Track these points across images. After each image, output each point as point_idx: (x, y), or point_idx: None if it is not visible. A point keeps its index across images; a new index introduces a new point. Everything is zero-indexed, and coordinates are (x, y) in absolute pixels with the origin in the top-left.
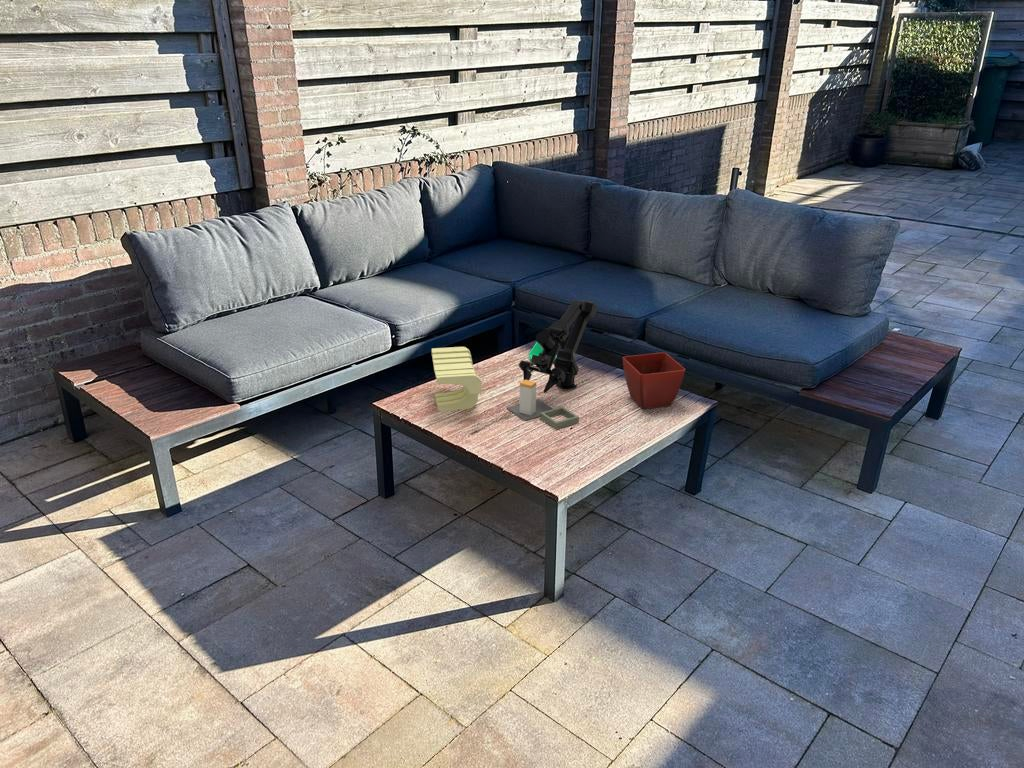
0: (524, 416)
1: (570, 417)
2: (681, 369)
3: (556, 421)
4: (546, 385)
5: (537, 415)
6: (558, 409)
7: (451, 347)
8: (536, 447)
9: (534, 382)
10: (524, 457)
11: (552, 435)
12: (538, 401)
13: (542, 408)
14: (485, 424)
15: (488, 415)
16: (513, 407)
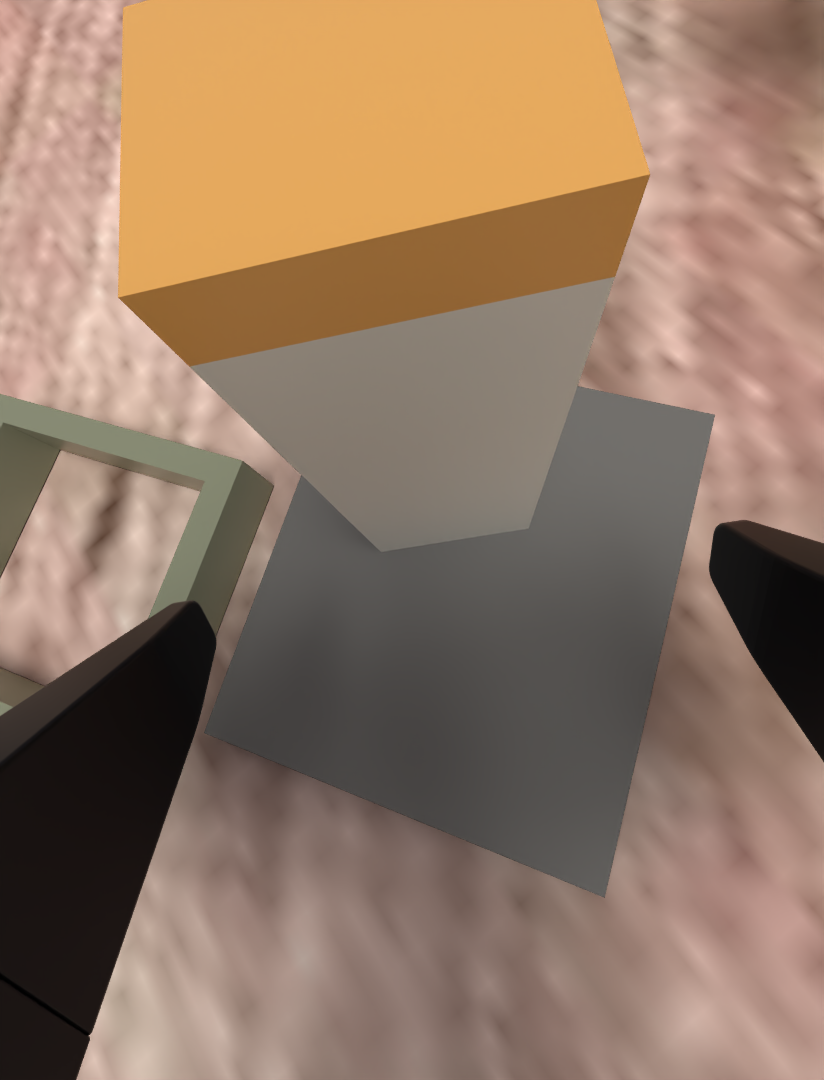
0: None
1: (4, 678)
2: None
3: (9, 424)
4: (60, 702)
5: (310, 493)
6: None
7: None
8: (50, 134)
9: (165, 236)
10: (55, 14)
11: (32, 328)
12: (540, 820)
13: (371, 674)
14: None
15: (717, 197)
16: (650, 463)
